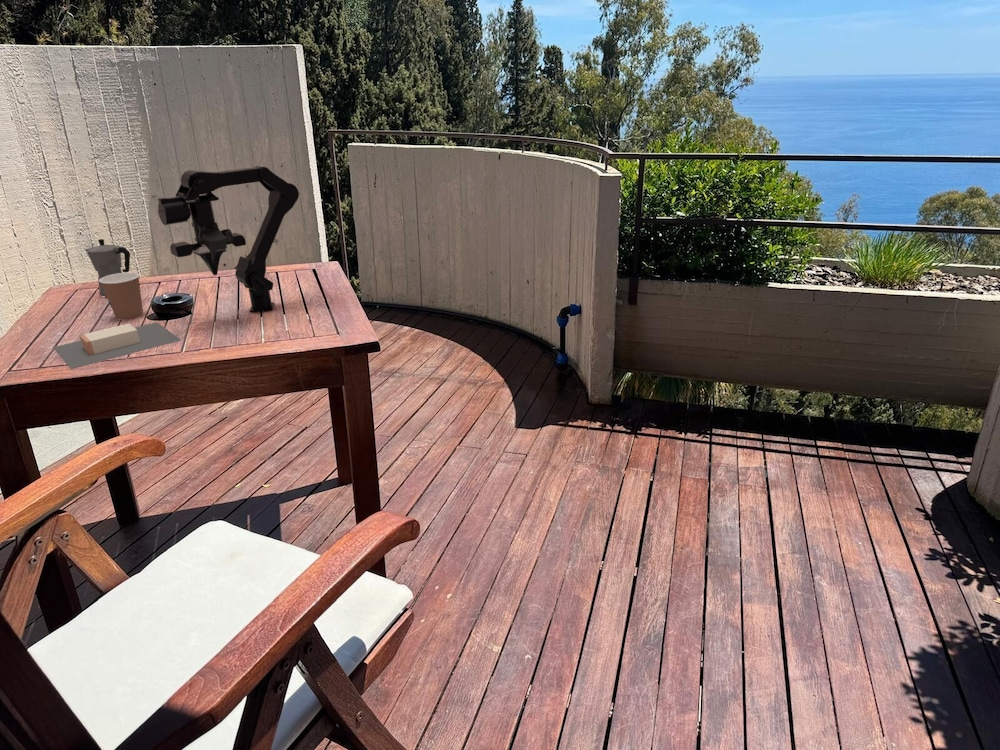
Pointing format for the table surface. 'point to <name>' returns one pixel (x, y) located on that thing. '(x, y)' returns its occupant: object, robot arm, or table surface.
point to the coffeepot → (108, 260)
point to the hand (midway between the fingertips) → (215, 274)
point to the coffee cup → (123, 294)
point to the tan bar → (109, 339)
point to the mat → (148, 338)
